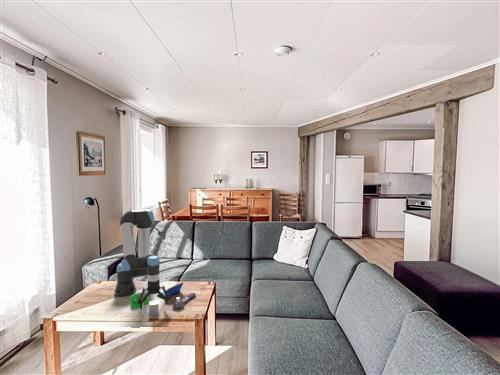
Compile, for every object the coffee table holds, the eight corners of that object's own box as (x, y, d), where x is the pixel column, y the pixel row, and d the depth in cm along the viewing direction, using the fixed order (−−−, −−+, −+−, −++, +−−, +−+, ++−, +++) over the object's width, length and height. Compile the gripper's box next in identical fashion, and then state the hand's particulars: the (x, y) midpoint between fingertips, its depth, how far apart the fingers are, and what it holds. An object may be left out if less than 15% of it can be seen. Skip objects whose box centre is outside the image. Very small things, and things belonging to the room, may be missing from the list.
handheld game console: (172, 289, 220) (172, 278, 219) (184, 293, 212) (183, 282, 212) (156, 296, 207) (155, 284, 206) (167, 301, 199) (167, 289, 199)
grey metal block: (149, 311, 184) (149, 301, 183) (158, 310, 186) (158, 300, 185) (149, 315, 179) (149, 305, 178) (158, 314, 181) (158, 303, 180)
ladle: (170, 308, 189) (170, 299, 188) (189, 295, 209) (189, 287, 208) (179, 310, 186) (178, 301, 185) (197, 297, 205) (197, 289, 205)
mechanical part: (135, 308, 188) (135, 297, 188) (130, 306, 192) (130, 294, 192) (151, 302, 198) (150, 291, 197) (146, 300, 201) (146, 289, 201)
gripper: (132, 284, 173) (133, 317, 174) (173, 279, 182) (173, 310, 183) (133, 280, 180) (133, 312, 181) (172, 275, 189) (172, 305, 190)
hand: (154, 311), depth 182 cm, fingers open, 13 cm apart
